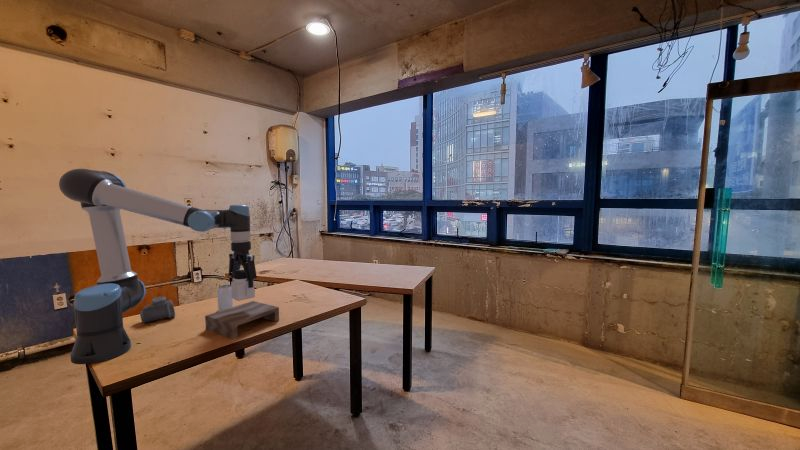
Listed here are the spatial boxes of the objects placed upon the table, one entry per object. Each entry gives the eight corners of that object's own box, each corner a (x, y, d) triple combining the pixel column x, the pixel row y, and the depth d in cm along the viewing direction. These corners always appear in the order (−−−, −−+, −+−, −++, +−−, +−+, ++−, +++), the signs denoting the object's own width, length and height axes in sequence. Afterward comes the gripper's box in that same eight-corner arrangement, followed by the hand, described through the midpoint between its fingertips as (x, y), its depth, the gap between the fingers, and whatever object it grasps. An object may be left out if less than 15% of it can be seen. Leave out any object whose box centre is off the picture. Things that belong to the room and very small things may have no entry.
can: (236, 309, 152) (235, 285, 151) (222, 313, 147) (221, 289, 146) (228, 307, 155) (227, 284, 155) (215, 311, 150) (214, 287, 149)
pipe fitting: (174, 312, 146) (170, 292, 144) (177, 318, 141) (173, 298, 138) (141, 322, 138) (137, 301, 136) (143, 329, 133) (138, 307, 130)
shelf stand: (205, 329, 128) (205, 315, 128) (253, 313, 147) (252, 300, 147) (232, 339, 120) (232, 324, 119) (279, 320, 139) (278, 307, 138)
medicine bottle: (255, 297, 133) (254, 270, 132) (237, 301, 128) (236, 272, 127) (248, 294, 138) (247, 267, 137) (231, 297, 132) (230, 270, 131)
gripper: (265, 241, 129) (266, 294, 131) (233, 238, 139) (236, 288, 141) (248, 243, 122) (251, 299, 124) (217, 240, 132) (219, 292, 134)
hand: (243, 293), depth 132 cm, fingers closed on medicine bottle, 8 cm apart
